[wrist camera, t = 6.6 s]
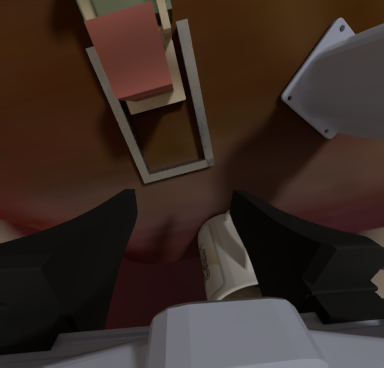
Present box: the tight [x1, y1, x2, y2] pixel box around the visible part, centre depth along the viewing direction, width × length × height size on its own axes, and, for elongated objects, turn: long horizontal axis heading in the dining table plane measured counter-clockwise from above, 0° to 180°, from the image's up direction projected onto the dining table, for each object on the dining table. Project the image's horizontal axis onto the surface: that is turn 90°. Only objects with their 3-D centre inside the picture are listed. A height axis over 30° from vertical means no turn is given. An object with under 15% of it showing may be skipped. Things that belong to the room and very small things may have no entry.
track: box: [76, 0, 215, 183], centre depth 15 cm, size 24×9×2 cm, turn 14°
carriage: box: [78, 0, 186, 115], centre depth 11 cm, size 12×6×7 cm, turn 14°
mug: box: [198, 209, 262, 301], centre depth 22 cm, size 10×12×11 cm
